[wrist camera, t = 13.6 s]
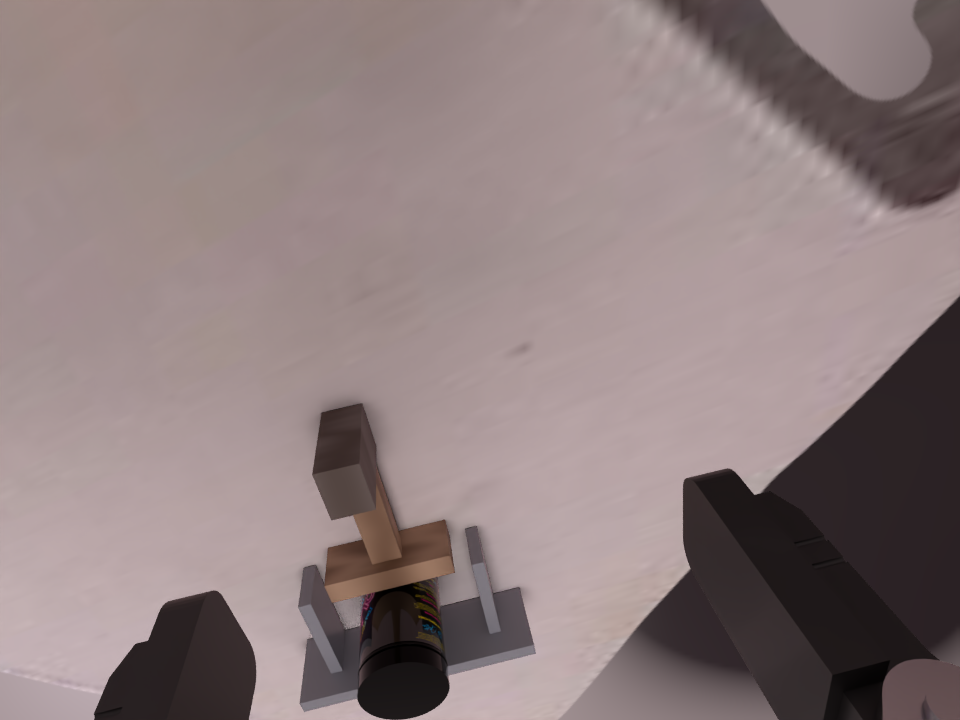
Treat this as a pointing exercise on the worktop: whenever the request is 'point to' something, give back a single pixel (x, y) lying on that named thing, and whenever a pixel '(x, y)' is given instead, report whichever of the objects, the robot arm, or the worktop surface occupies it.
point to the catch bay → (466, 627)
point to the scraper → (369, 515)
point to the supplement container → (402, 651)
